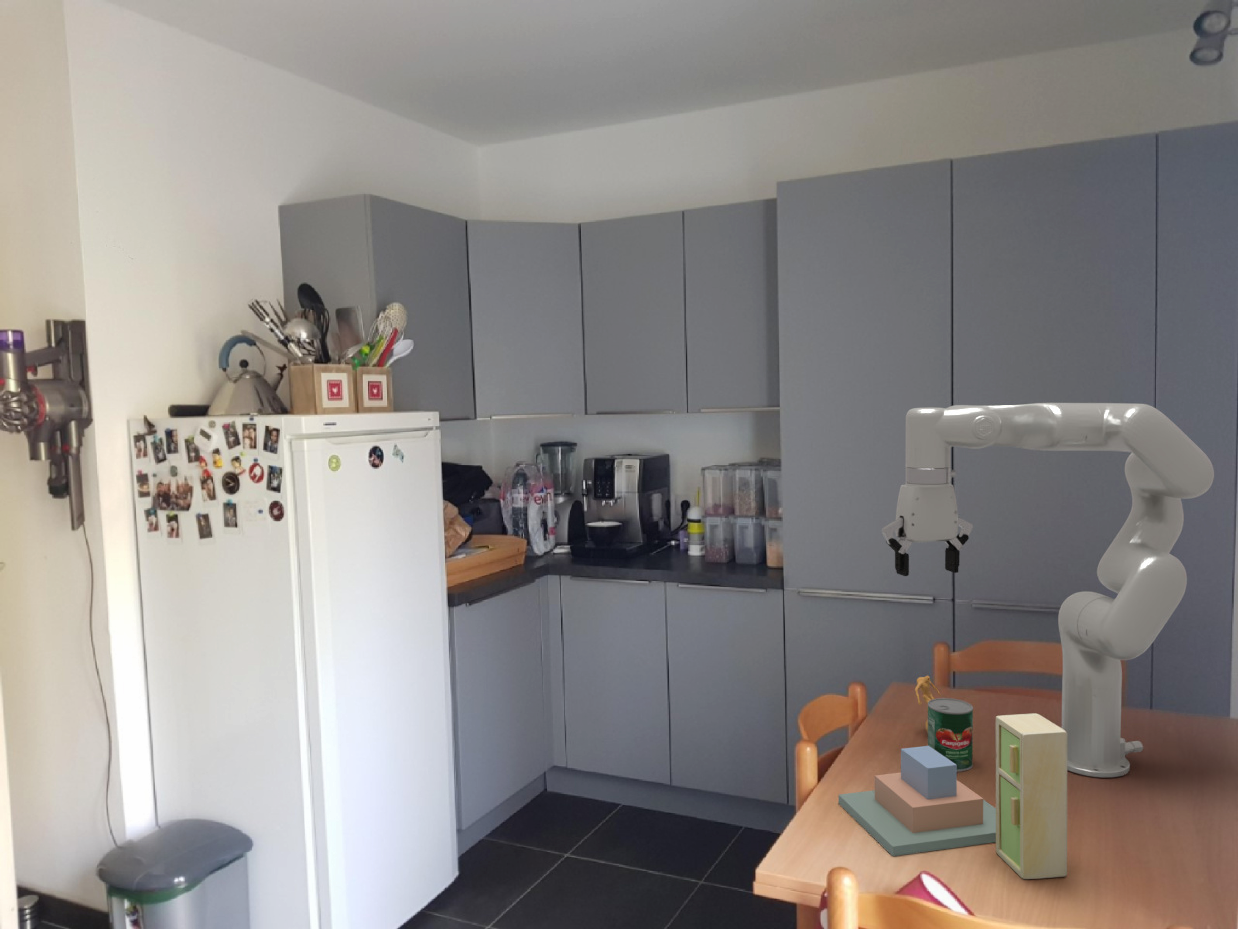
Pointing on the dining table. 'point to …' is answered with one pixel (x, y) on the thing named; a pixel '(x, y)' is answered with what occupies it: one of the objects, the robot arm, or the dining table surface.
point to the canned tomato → (951, 730)
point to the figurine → (925, 692)
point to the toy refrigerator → (1031, 795)
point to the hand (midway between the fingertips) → (927, 573)
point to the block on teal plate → (920, 817)
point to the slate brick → (929, 772)
